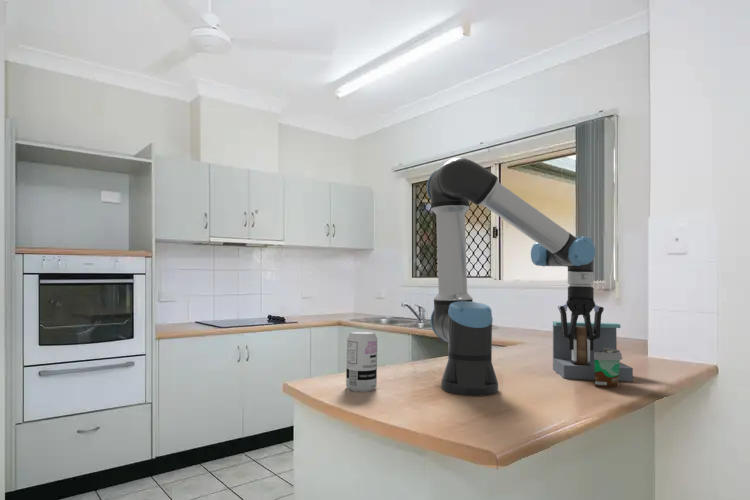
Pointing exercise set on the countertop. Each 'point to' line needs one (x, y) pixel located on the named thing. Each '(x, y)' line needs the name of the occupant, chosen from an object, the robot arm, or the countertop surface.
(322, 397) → the countertop surface
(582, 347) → the peg
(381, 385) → the countertop surface
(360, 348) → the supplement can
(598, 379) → the food container
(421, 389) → the countertop surface
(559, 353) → the socket
